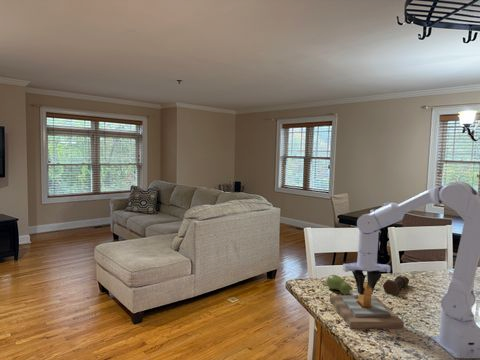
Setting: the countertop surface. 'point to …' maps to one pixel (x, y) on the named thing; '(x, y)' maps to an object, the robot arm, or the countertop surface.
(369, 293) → the notched wooden block
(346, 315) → the brown grey stepped board
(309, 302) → the countertop surface
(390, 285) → the bolt
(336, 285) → the pear
